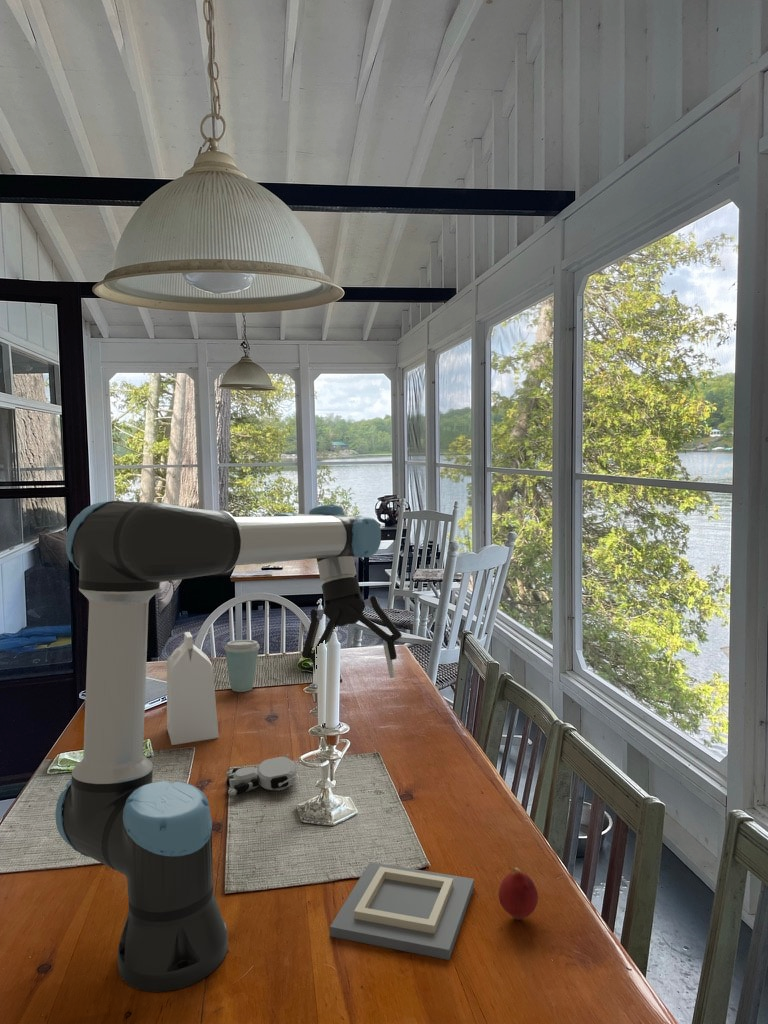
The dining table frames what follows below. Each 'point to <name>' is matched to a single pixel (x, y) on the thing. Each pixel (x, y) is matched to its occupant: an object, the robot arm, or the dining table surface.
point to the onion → (518, 894)
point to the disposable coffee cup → (241, 663)
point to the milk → (190, 695)
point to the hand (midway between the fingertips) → (359, 684)
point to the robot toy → (263, 776)
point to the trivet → (405, 910)
